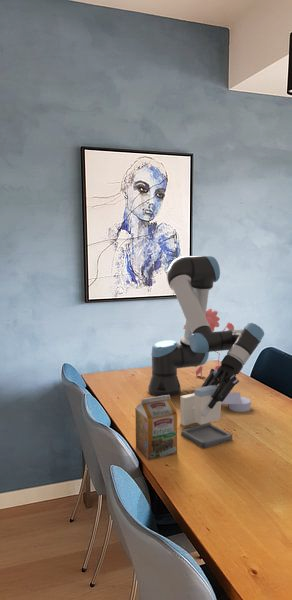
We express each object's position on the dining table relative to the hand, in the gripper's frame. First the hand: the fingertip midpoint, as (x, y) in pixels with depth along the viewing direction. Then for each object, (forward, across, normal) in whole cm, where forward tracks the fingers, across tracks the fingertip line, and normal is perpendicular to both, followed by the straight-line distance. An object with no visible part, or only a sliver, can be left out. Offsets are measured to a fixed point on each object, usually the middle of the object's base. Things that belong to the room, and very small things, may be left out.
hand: (199, 412), depth 166 cm
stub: (0, 0, -5) cm, 5 cm away
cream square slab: (+2, +13, -13) cm, 18 cm away
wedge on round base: (-16, +18, -31) cm, 39 cm away
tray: (+5, +1, -10) cm, 11 cm away
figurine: (-31, +62, -45) cm, 83 cm away
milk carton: (+20, +2, +4) cm, 20 cm away
